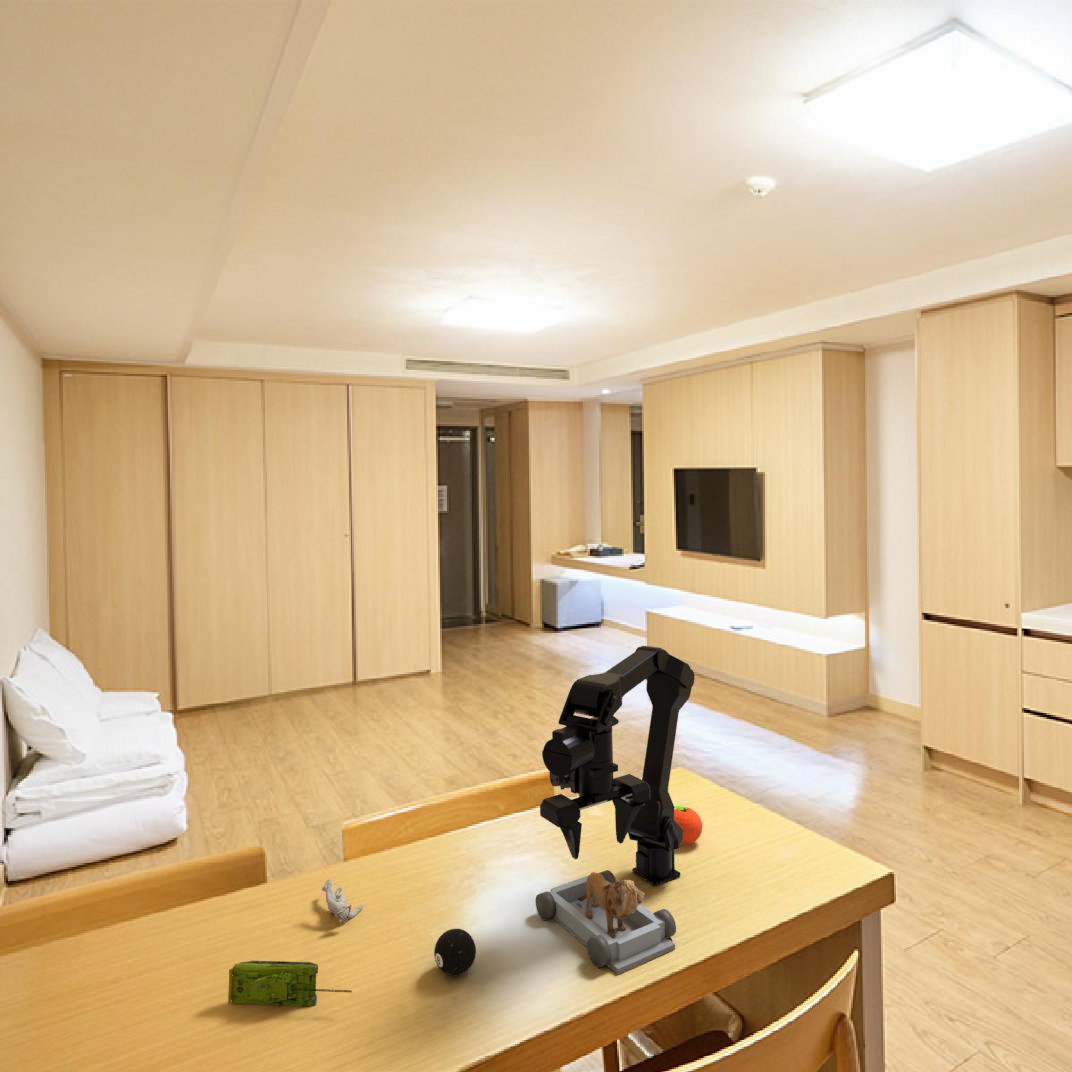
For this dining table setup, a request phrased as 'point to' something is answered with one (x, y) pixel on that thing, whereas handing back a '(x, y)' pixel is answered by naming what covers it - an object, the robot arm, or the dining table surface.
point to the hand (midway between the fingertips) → (597, 850)
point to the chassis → (618, 952)
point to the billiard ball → (455, 952)
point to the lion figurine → (612, 899)
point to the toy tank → (274, 983)
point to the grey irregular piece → (339, 903)
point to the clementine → (688, 823)
